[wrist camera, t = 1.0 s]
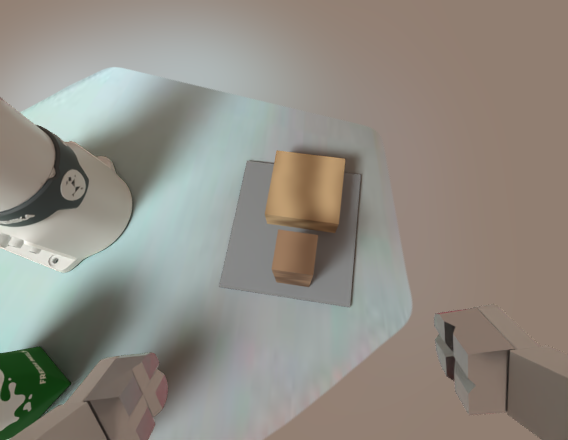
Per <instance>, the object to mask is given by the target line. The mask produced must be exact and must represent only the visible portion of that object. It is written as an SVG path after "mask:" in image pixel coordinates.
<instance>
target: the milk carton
mask: <svg viewBox="0 0 568 440" xmlns="http://www.w3.org/2000/svg"><path fill="white" fill-rule="evenodd" d="M70 384H71V383H70V382H69V381H68V379H67V378H66V377H65V376H64V374H63V373H62V372H61V371H60V370H59V368H58V367H57V366H56V365H55V364H54V362H53V361H52V360H51V359H50V358H49V356H48V355H47V354H46V353H45V352H44V350H43V349H42V348H41V347H40V346H39V347H34V348H28V349H23V350H17V351H12V352H6V353H0V440H7V439H9V438H12V437H14V436H15V435H16V434H18V433H19V432H21V431H22V430H24V429H25V428H27V427H28V426H29V425H31V424H32V423H34V422H35V421H36V420H37V419H38V418H39V417H40V416H41V415H42V414H43V413H44V412H45V411H46V410H47V409H48V408H49V407H50V406H51V405H52V403H53V402H54V401H55V400H56V399H57V398H58V397H59V396H60V395H61V394H62V393H63V392H64V391H65V390H66V389H67V388H68V387H69V386H70Z"/></svg>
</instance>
